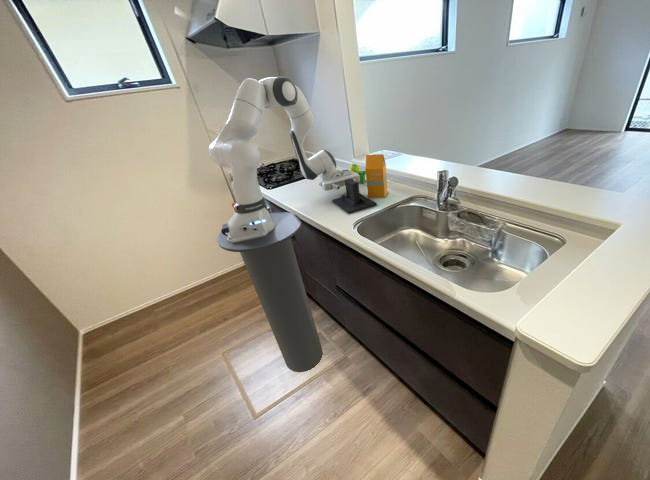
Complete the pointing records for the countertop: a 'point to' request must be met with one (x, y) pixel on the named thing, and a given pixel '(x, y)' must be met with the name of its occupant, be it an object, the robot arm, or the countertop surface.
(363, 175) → the fruit basket
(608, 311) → the countertop surface
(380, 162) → the orange juice
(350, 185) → the upright pad
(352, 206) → the base pad
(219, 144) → the robot arm
